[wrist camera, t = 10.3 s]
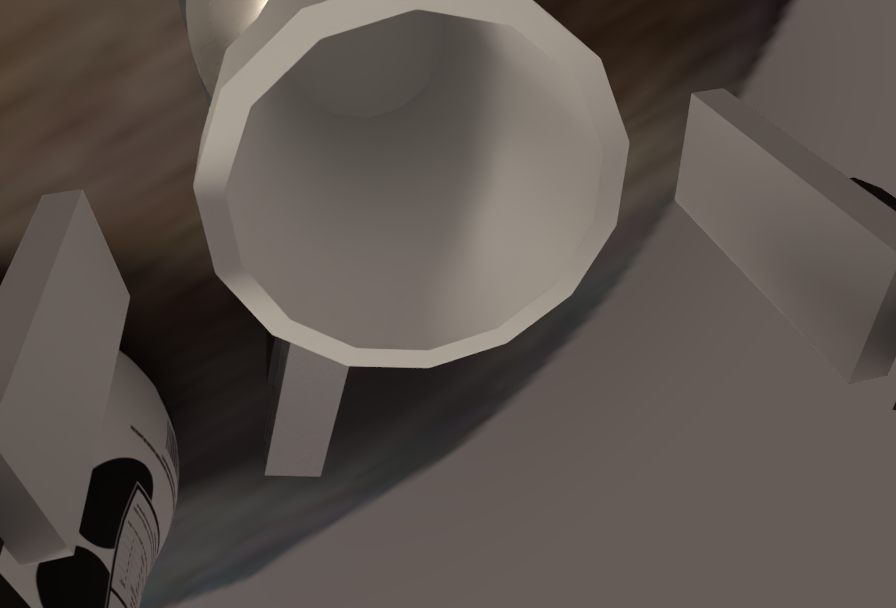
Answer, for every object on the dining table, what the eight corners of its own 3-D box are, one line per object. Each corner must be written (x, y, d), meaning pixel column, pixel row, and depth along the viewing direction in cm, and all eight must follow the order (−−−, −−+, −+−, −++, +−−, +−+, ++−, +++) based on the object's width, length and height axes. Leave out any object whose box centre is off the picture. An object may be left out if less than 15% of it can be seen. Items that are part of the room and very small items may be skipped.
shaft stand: (-87, -771, 15) (-298, -1091, 10) (498, -769, 17) (618, -1045, 11) (268, 373, 37) (268, 487, 31) (513, 327, 38) (557, 427, 32)
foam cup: (368, -190, 22) (460, -150, 12) (534, 37, 27) (696, 201, 17) (165, 26, 24) (94, 214, 14) (353, 195, 29) (400, 421, 19)
